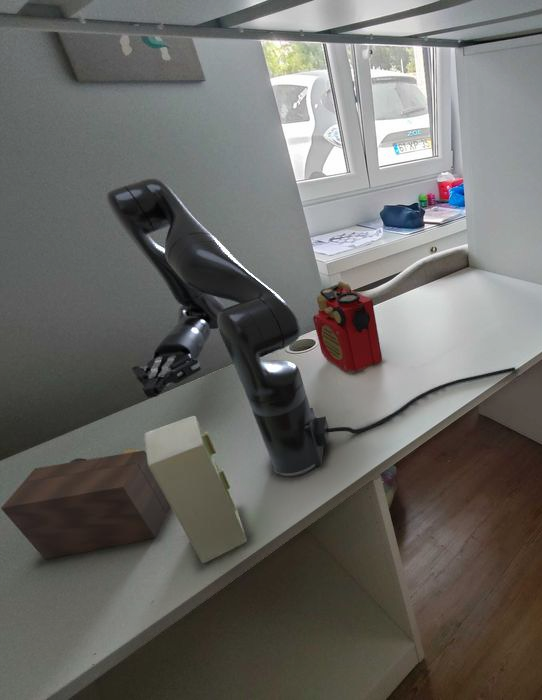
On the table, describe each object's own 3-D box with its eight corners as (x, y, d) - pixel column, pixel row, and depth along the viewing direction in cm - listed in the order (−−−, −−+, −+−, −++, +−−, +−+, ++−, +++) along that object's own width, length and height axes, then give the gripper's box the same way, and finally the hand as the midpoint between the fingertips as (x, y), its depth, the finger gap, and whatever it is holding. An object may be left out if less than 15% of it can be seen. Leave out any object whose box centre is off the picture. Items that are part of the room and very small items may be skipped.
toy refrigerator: (253, 539, 71) (208, 441, 60) (203, 565, 67) (145, 465, 57) (242, 507, 76) (199, 412, 66) (195, 530, 73) (141, 432, 62)
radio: (321, 356, 119) (303, 287, 109) (353, 342, 125) (339, 275, 115) (352, 378, 109) (336, 305, 99) (386, 362, 115) (374, 291, 105)
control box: (178, 488, 81) (151, 439, 75) (155, 538, 72) (122, 486, 66) (81, 505, 79) (45, 456, 72) (44, 559, 69) (0, 508, 63)
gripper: (141, 337, 95) (102, 382, 81) (207, 329, 97) (180, 371, 83) (155, 366, 99) (120, 414, 85) (218, 358, 101) (194, 403, 87)
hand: (150, 393), depth 84 cm, fingers closed
